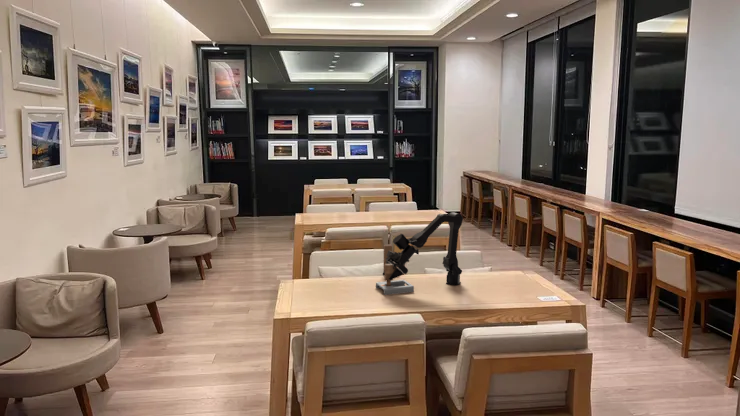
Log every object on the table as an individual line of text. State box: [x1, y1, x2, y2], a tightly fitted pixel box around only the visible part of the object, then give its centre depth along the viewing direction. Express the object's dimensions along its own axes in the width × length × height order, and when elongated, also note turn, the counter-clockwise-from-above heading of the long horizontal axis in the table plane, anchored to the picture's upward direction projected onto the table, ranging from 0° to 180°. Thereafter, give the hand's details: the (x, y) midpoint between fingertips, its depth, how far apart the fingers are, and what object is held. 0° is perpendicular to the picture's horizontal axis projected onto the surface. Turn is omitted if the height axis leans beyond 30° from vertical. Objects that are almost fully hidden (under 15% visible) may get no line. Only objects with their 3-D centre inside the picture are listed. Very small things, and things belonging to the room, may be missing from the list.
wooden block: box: [383, 243, 398, 277], centre depth 316 cm, size 9×4×18 cm, turn 95°
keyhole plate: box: [375, 279, 415, 296], centre depth 288 cm, size 16×13×3 cm
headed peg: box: [382, 264, 394, 292], centre depth 286 cm, size 6×6×14 cm
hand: (386, 277), depth 285 cm, fingers open, 9 cm apart
